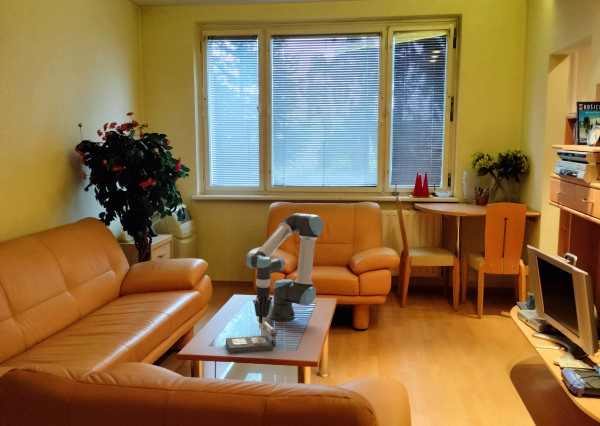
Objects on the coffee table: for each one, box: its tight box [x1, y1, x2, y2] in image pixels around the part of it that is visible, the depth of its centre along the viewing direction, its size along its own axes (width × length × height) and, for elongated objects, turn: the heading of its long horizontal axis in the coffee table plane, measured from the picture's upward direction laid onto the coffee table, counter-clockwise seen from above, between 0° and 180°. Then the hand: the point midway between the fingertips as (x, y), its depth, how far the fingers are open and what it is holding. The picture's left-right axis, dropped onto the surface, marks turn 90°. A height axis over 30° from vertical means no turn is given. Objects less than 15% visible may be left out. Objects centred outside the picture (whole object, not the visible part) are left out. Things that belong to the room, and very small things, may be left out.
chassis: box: [225, 335, 277, 354], centre depth 277 cm, size 25×14×5 cm, turn 105°
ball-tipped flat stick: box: [256, 316, 278, 337], centre depth 290 cm, size 26×3×3 cm, turn 23°
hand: (261, 328), depth 290 cm, fingers closed
